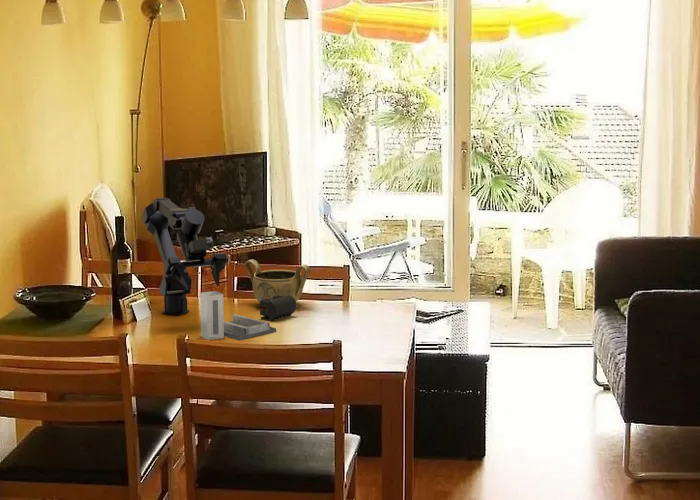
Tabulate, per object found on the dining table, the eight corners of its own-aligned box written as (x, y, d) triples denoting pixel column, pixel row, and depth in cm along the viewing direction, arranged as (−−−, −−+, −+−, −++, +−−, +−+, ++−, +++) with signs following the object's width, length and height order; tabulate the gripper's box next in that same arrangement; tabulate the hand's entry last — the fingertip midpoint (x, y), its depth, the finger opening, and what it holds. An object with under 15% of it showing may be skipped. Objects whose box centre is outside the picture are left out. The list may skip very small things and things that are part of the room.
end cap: (276, 323, 314) (275, 301, 313) (258, 319, 318) (258, 298, 317) (296, 317, 322) (296, 296, 321) (279, 313, 326) (279, 293, 325)
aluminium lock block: (200, 336, 297) (200, 292, 295) (216, 334, 300) (216, 290, 298) (207, 340, 293) (207, 296, 291) (223, 338, 296) (223, 294, 293)
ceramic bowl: (235, 309, 332) (234, 263, 329) (259, 298, 347) (258, 255, 344) (297, 315, 323) (297, 269, 321) (319, 304, 339) (319, 260, 336)
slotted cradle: (205, 330, 304) (205, 320, 304) (241, 322, 314) (241, 312, 314) (239, 340, 293) (239, 330, 293) (276, 331, 303) (276, 321, 303)
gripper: (165, 230, 299) (179, 274, 291) (225, 226, 308) (240, 268, 300) (158, 252, 307) (171, 295, 299) (216, 248, 316) (230, 289, 308)
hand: (203, 286), depth 301 cm, fingers open, 9 cm apart
